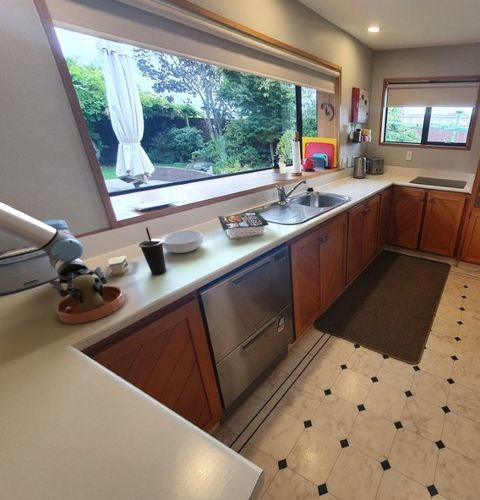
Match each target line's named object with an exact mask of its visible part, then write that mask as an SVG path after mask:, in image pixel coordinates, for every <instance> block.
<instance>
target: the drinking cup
mask: <svg viewBox="0 0 480 500" xmlns="http://www.w3.org/2000/svg"><path fill="white" fill-rule="evenodd" d="M145 231H146V235H147V238H148V239H146V240H143V241H141V242H139V244H138V246H139V248H140V249H141V251H142V254H143V257H144V259H145V262H146V263H147V266H148V268H149V270H150V273H151V275H153V276H161V275H163V274H165V273H166V272H167V266H166V260H165V253H164V247H163V245H162V243H163V241H162V240H161V239H160V238H152V237H151V234H150V230H149V228H148V227H147V226H145Z"/></svg>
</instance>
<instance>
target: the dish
mask: <svg viewBox="0 0 480 500" xmlns="http://www.w3.org/2000/svg"><path fill="white" fill-rule="evenodd" d="M103 287H104V289H101V290H102V292H103V296H101V298H102V299H103V301H104V303H105V304H104V306H103V307H101V308H98V309H95V310H92V311H89V312H82V311H81V310H80V304H79V300H78V298H77V297H76V298H71V297H70V295H68V296H66V297H64V298H63V299H62V300H61V301H60V302H59V303H57V305H56V307H55V312H56V314H57V316H58V318H59V320H60V321H61V322H63V323H65V324H72V325H74V324H82V323H83V324H85V323H88V322H93V321H96V320H99V319H102V318H104V317H107V316H109V315H110V314H112V313H115V312H116V311H117V310H118V309H120V308H122V306H123V305H124V304H125V300H126V298H125V297H126V296H125V295H124V292H123V290H122V288H121V287H118V286H115V285H103Z"/></svg>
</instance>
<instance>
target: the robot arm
mask: <svg viewBox="0 0 480 500" xmlns="http://www.w3.org/2000/svg"><path fill="white" fill-rule="evenodd" d="M69 227H70V226H68V224H67V222H66V221H65V220H63V219H50V220H45V221H40V220H38V219H37V218H34V217H32V216H29V215H27V214H26V213H24V212H22V211H19V210H17V209H15V208H13V207H11V206H9V205H7V204H5V203H3V202H0V234H2V235H4V236H6V237H9V238H12V239H14V240H16V241H19V242H21V243H24V244H26V245H28V246H31V247H33V248H36V249H38V250H40V251H43V252H44V253H46V255H47V257H48V262H49V264H50V266H51V267H52V268H53V269H54V271H55V273H56V274H57V276H58V277H59V278H58V279H55V280H54V279H51V280H49V281H48V283H49V285H50V287H51V289H53V290H56V292H57V293H58V295H59V296H60V297H61V298H67V297H68V296H70V297H71V298H76V297H77V298H78V300H79V301H80V303H83V302H84V301H83V298H82V296H81V294H80V293H79V291H78V290H77V289H76V288H74V287H73V285H72V281H73V279H74V278H76V277H78V276H82V275H91V276H92V277H93V278H94V280H95V283H94V286H95V288H96V290H97V292H98V293H99V295H100V296H103V292H102V290H101V289H104V287H103V286H104V285H107V284H108V280H107V277H106V276H105V274H104V272H103V269H102V267H101V266H98V267H96V268H95V269H91V268H88V267H87V265H86V264H85V263H84V262H83V261H82V259H81V257H82V255H83V254H84V251H85V250H84V246H83V244H82V242H81V241H80V240H78V238H76V237H75V236H74V235H73V234H72V233H71V231H70V228H69ZM49 259H50V260H49ZM93 275H95V276H93ZM63 284H65V285H66V288H64V287H63V286H62V285H63Z"/></svg>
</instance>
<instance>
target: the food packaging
mask: <svg viewBox="0 0 480 500" xmlns="http://www.w3.org/2000/svg"><path fill="white" fill-rule="evenodd" d="M217 218H218V221H219V222H220V223H219V224H220V225H221V228H222V230H223V231H224V232H226V234H227V237H229V238H230V240H233V239H234V240H235V239H240V238H247V237H248V238H249V237H255V236H260V235H264V234H265V227H266V226H269V225H270V224H269V222H268V221H267V219H265V218H264V217H263V216H261V214H260V213H259V211H245V212H240V213H236V214H232V215H224V216H219V215H218V216H217Z"/></svg>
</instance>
